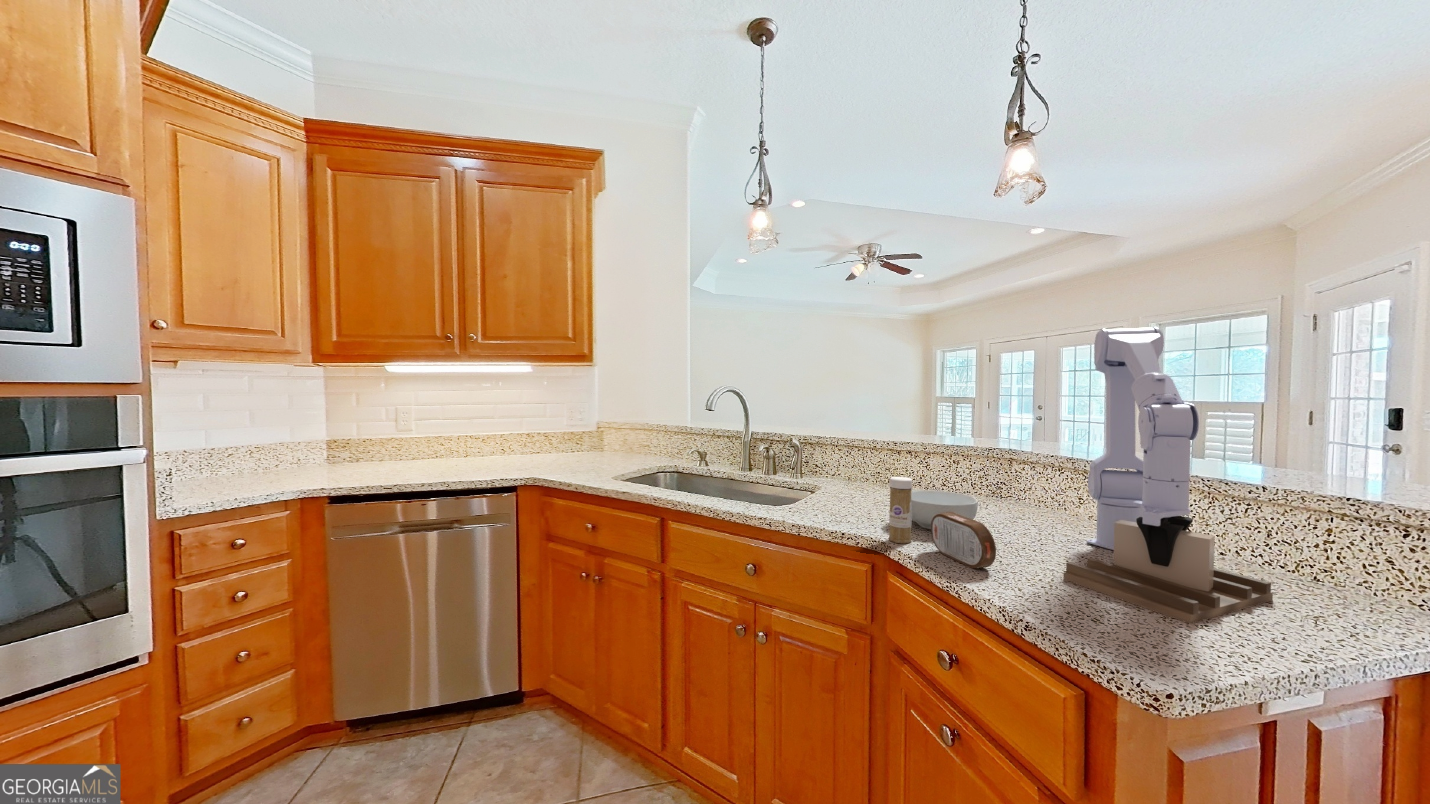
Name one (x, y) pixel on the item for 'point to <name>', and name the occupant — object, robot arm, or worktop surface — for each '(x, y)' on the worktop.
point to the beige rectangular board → (1187, 562)
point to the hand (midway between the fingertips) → (1163, 562)
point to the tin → (963, 539)
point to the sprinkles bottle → (900, 509)
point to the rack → (1171, 590)
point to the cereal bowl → (940, 505)
